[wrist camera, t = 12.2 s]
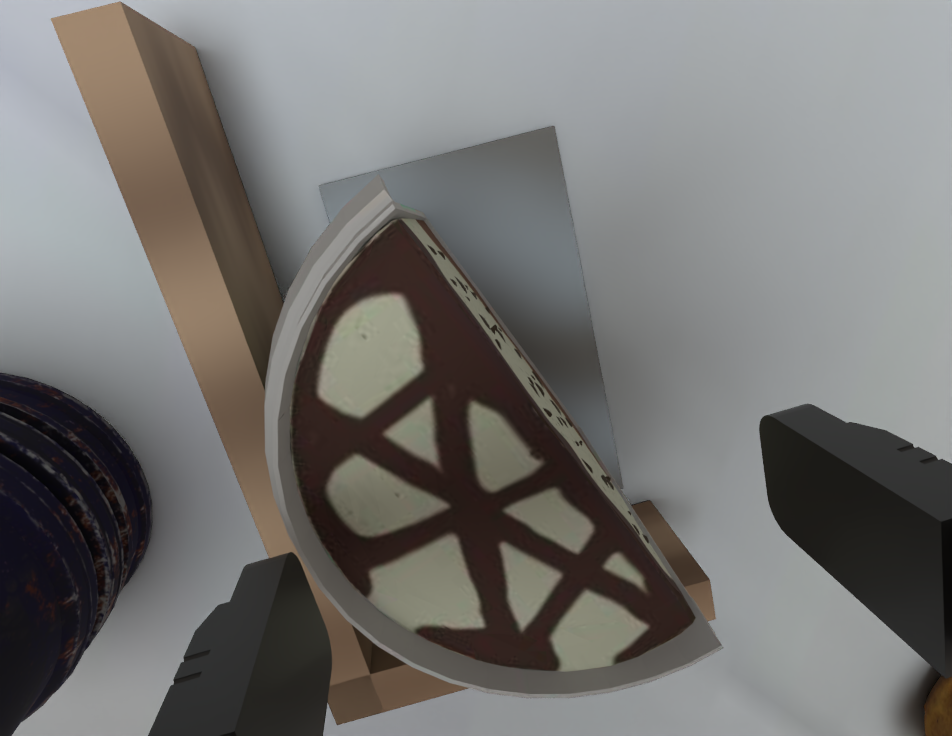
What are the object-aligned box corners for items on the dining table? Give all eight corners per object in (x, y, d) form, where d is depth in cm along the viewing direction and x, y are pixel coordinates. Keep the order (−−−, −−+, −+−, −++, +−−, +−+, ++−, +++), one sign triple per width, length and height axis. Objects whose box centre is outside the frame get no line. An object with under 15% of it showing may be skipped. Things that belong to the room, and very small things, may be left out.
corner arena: (656, 533, 25) (715, 618, 20) (350, 617, 24) (337, 725, 20) (554, -42, 18) (605, -117, 14) (144, 60, 18) (50, 18, 13)
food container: (238, 290, 20) (79, 401, 11) (393, 171, 19) (371, 175, 10) (467, 551, 24) (502, 809, 14) (603, 458, 23) (735, 663, 14)
